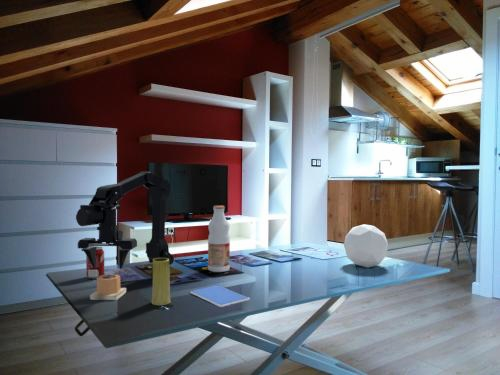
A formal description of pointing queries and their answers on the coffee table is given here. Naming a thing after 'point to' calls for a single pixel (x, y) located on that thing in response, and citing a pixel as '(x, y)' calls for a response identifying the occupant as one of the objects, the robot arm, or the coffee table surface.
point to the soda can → (99, 269)
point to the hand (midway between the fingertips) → (107, 268)
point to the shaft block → (107, 297)
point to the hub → (108, 284)
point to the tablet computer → (219, 296)
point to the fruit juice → (218, 242)
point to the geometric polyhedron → (366, 245)
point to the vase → (161, 282)
